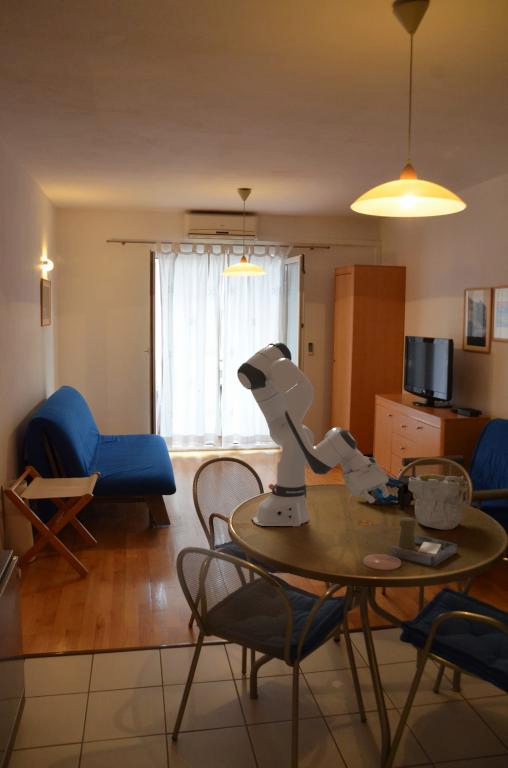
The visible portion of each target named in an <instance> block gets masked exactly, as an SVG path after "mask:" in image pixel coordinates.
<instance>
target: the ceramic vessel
mask: <svg viewBox="0 0 508 768" xmlns="http://www.w3.org/2000/svg"><path fill="white" fill-rule="evenodd" d="M408 482H409V486H408V489H409V490H410V491H411V492H413V495H414V494H415V496H416V498H415V500H414V501H415V502H414V515H415V518H416V520H417V521H418V522H419V524H420V525H422V526H424V527H427V528H432V529H437V530H441V531H449V529H450V530H453V529H455V528H457V526H458V525H459V524H460V523H461V521H462V519H463V505H464V504H466V503H468V502H469V500H468V490H469V486H468V485H469V484H468V482H467V481H466V480H465V477H464V475H462V476H456V475H449V476H448V475H447V476H446V475H443V474H442V475H441V474H434V473H430V474H429V473H428V474H427V473H426V474H421V475H417V476H416V477H415V476H410V477H409V478H408Z"/></svg>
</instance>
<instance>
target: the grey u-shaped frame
mask: <svg viewBox="0 0 508 768" xmlns="http://www.w3.org/2000/svg"><path fill="white" fill-rule="evenodd" d="M414 537H415V545H420V546H422V544H423V542H428V543H435V544H441V551H440V552H439V553H437V554H435V555H434V556H430V555H426V554H422V553H418V551H411V550H407V549H403V548H399V547H398V546H395V545H389V549H388V551H389V552H388V553H389V554H388V555H391V556H394V557H397V558H398V559H403V560H407V561H411V562H415V563H419V564H423V565H426V566H428V567H429V566H430V567H433V568H435V567H436V566H438V565H439V564H441V563H442V562H443V561H446V560H447V559H448V557H449V558H450V557H452V556H454V555H455V554H457V553H456V552H457V550H458V543H454V542H450V541H447V540H446V541H445V540H441V539H437V538H433V537H430V536H425V535H420V534H416V533H414ZM453 554H454V555H453ZM445 559H446V560H445ZM440 562H441V563H440Z"/></svg>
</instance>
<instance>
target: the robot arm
mask: <svg viewBox="0 0 508 768" xmlns="http://www.w3.org/2000/svg"><path fill="white" fill-rule="evenodd" d="M236 371H237V372H236V374H237V379H238V381H239V383H240V384H241V386H243V388H245V389H246V390H250V391H251V394H252V396H253V399H254V400H255V402H256V404H257V405H258V407H259V409H260V411H261V413H262V415H263V417H264V419H265V422H266V424H267V428H268V430H269V431H268V432H269V436H270V439H272V441H273V442H274V443H275V445H278V446H279V447H281V448H282V451H281V456H280V458H279V459H280V460H279V461H278V462H277V464H276V483H275V484H273V483H269V484H268V488H269V490H271V494H269V495H268V496H267V497H266V498H264V499H263V500H262V501H261V502H259V503H258V506H257V511H256V514H257V516H256V517H254V518H253V520H254V522H256V523H257V524H259V525H262V526H293V527H300V526H299V525H301V524H302V523H303V524H305V523H304V522H306V523H307V522H309V520H310V517H309V514H308V510H307V509H308V508H307V503H306V502H307V501H306V498H307V484H306V465H308V468H309V469H310V470H311V472H313V473H314V474H315V475H327V474H328V473H329V472H330V471H331V470H332V469H334V467H336V466H337V465H339V464H340V467H341V468H342V470H343V472H342V475H341V476H342V478H343V480H344V483H345V486H346V488H347V489H348V491H349V492H350V494H351V495H352V496H354V497H355V496H359V494H360V495H361V497H362V498H363V499H365V500H366V501H368V502H369V504H370V503H373V502H374V501H375V499H374V497H373V496H370V495H369V494H368V491H370V490H373V489H376V488H378V487H379V489H380V490H382V495H383V496H384V498H386V497H388V496H389V494H390V492H389V491H388V487H386V485H385V484H386V483H387V482H388V481H389V480H388V477H387V476H388V475H387V474H386V472H385V471H384V469H383V467H381V466H380V465H379V464H378V461H377V460H376V458H374V457H368V456H364V454H363V453H362V451H360V450H359V449H358V448H357V447H358V441H357V440H356V439H355V438H354V436H353V435H352V434H351V432H350V431H349V430H348V429H342V428H341V427H339V426H338V427H333V428H331V429H329V430H328V431H327V432H326V433H325V435H324V437H323V440H322V441H320V442H319V443H317V444H316V445H314V444H315V435H314V433H313V431H312V430H311V429H310V428H309V427H308V426H306V425H305V424H303V422H304V418H305V416H306V414H307V412H308V411H309V409H310V408H311V406H312V404H313V402H314V399H315V388H314V386H313V385H312V383H311V381H310V379H308V377H307V376H306V375H305V373H304V372H303V371H302V370H301V369H300V368H299V367H298V366H297V365H296V364H295V363H294V362H293V361H292V352H291V350H290V349H289V348H288V346H287V345H286V344H285V343H284V342H281V341H272V342H271V343H268V345H267V346H265V347H263V348H262V349H260V350H259V351H256V352H255V353H254V354H253V355H252V356H251V357H250V358H249V359H247V360H246V361H245V362H243V363H242V364H241V365H240V366H239V367H238V369H237V370H236ZM303 524H302V525H303ZM302 525H301V526H302Z"/></svg>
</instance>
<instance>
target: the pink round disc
mask: <svg viewBox="0 0 508 768" xmlns="http://www.w3.org/2000/svg"><path fill="white" fill-rule="evenodd" d="M362 560H363V561H362V562H363V564H364V566H366V567H368V568H370V569H374V570H379V571H391V570H397V569H399V568H400V567H401V566H402V561H401V558H399V557H395V556H392V555H389V554H387V553H385V554H384V553H374V554H369V555H366V556H364V557H363V559H362Z"/></svg>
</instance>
